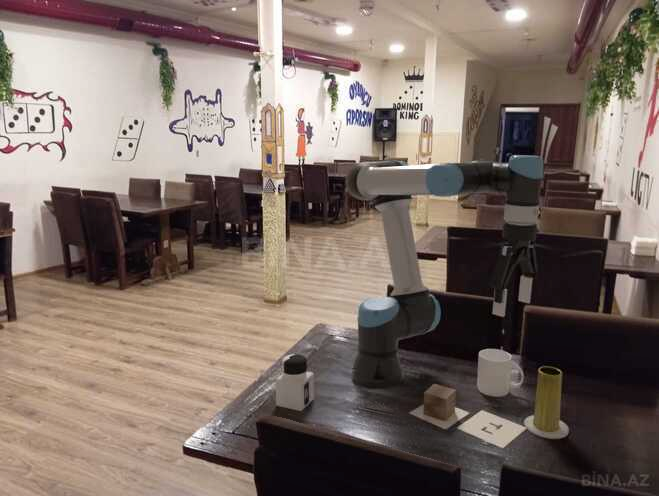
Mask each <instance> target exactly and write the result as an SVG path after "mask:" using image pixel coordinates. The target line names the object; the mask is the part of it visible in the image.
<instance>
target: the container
mask: <svg viewBox="0 0 659 496" xmlns="http://www.w3.org/2000/svg"><path fill="white" fill-rule="evenodd" d="M281 360H282V361H281V362H282V363H281V365H282V369H281V370H282V373H281V374H280V375H279V376H278V377H276V379H275V402H276V403H275V404H276V405H275V406H277V407H281V408H285V409H288V410H289V409H290V410H292V411H293V410H294V411H299V412H302V411H303V410H304V409H305V408H306V407H307V406H308V405H309V404H311V402H313V401H314V399H315V373H314V372H311V371H308V359H307V357H306V356H305V355H304V354H303V355H302V354H299V353H292V354H288V355H285V356H284V357H282V359H281Z"/></svg>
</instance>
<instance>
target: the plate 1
mask: <svg viewBox="0 0 659 496" xmlns="http://www.w3.org/2000/svg"><path fill="white" fill-rule="evenodd" d="M423 412H424V403H423V404H422V405H420V406H417V408H415V409H413V410H412V411H410V412H409V414H410V415H412V416H414V417H417V418H418V419H421V420H423V421H426V422H428V423H431V424H433V425H435V426H437V427H438V428H442V429H443V430H448V429H449V428H450V427H451V426H453V425H454V424H456V423H457V422H459V421H460V420H462V419H463V418H464V417H466V416H467V415H469V414H470V412H468V411H466V410H463V409H461V408H459V407H456V406H455V412H454V413H453V414H452V415H451V416H450V417H449V418H448V419H447V420H446V421H443V420H439V419H436V418H433V417H430V416H427V415H424V414H423Z"/></svg>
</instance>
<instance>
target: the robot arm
mask: <svg viewBox="0 0 659 496" xmlns="http://www.w3.org/2000/svg"><path fill="white" fill-rule="evenodd" d="M543 178H544V159H543V157H541V156H539V155H525V154H522V155H521V154H513V155H511V156H510V157H509V159H508V162H498V161H497V162H496V161H488V160H473V161H471V162H441V163H433V164H431V163H430V164H418V165H417V164H416V165H415V164H414V165H409V164H408V163H407V162H405V161H401V160H393V159H391V160H383V161H361V162H358V163H355V165H353V166H351V168H350V169H349V170H348V171H347V173H346V177H345V186H346V189H347V191H348V193H349V194H350V195H351V196H352V197H353V198H355V199H356V200H360V201H373V203H374V208H375V209H376V210H378V211H379V212H380V215H381V219H382V220H381V221H382V225H383V231H384V238H385V244H386V249H387V253H388V259H389V264H390V272H391V275H392V282H393V290H392V292H391V293H390V296H376V297H372V298H369V299H367V300H364V301H363V302H362V303H360V304H359V307H358V312H357V313H358V315H357V338H358V339H357V354H356V357H355V359H354V364H353V365H352V369H351V378H352V380H353V381H354V382H355V383H356V384H358V385H360V386H362V387H365V388H368V389H369V388H370V389H386V388H387V389H388V388H392V387H395V386H397V385H399V384H401V383H402V382H403V380H404V369H403V367H402V365H401V364H402V363H401V361H400V357H399V353H398V352H399V351H398V350H399V347H398V345H399V341H401V340H404V339H409V338H412V337H415V336H420V335H421V336H422V335H425V334H426V333H428V332H431V331H433V330H435V329H436V327H437V325H438V324H439V322H440V320H441V307H440V306H441V305H440V303H439V300H437V299H436V297H435V296H434V295H433V294H431V293H430V292H429V287H427V286H426V285H425V284H424V283H423V281H422V274H421V269H420V265H419V259H418V253H417V246H416V242H415V236H414V230H413V226H412V219H411V215H410V210H409V209H410V208H409V207H410V205H411V203H412V202H413V197H412V196H434V197H442V198H443V197H444V198H446V197H447V198H449V197H453V196H454V197H455V196H459V195H476V194H477V195H478V194H488V193H489V194H498V195H503V196H505V202H504V203H505V204H504V211H503V220H504V223H503V224H502V238H503V239H505V240H507V243H506V245H500V247H499V252H498V258H497V260H496V264H495V267H494V270H493V273H492V277H491V279H490V282H489V287H490V288H492V289H494V294H493V303H492V315H496V316H497V317H498V316H499V317H502V318H504V317H505V316H506V306H507V295H508V289H507V285H508V283H509V282H510V281H509V280H510V279H511V276H512V275H513V271H514V270H515V267H516V266H519V268H520V269H521V273H522V275H521V276H520V280H519V281H520V282H519V288H518V290H519V291H518V297H517V298H518V302H522V303H525V304H530V303H531V295H532V287H533V286H532V285H533V278H537V277H538V264H537V263H538V262H537V261H538V260H537V254H536V239H537V233H538V225H537V224H536V223H537V222H538V219H539V215H540V214H541V210H540V199H541V191H542V190H541V189H542V185H543ZM518 264H519V265H518Z"/></svg>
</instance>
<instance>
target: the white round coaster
mask: <svg viewBox="0 0 659 496" xmlns="http://www.w3.org/2000/svg"><path fill="white" fill-rule="evenodd" d="M533 418H534V414H532V415H528V416H527V417H526V418H525V419H524V423H523V424H524V427H526V428H527V429H526V431H529V432H530V433H531V434H533V435H535V436H537V437H540V438H544V439H549V440H560V439H562V438H563V439H564V438H566V437H567V436H568V435H569V433H570V432H569V431H570V428H569V426H568V425H567V424H566V423H565V422H564V421H562V420H559V426H560V428H559V430H557V431H555V432H547V431H543V430H540V429H538V428H536V427H535V426H534V425H533Z"/></svg>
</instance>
